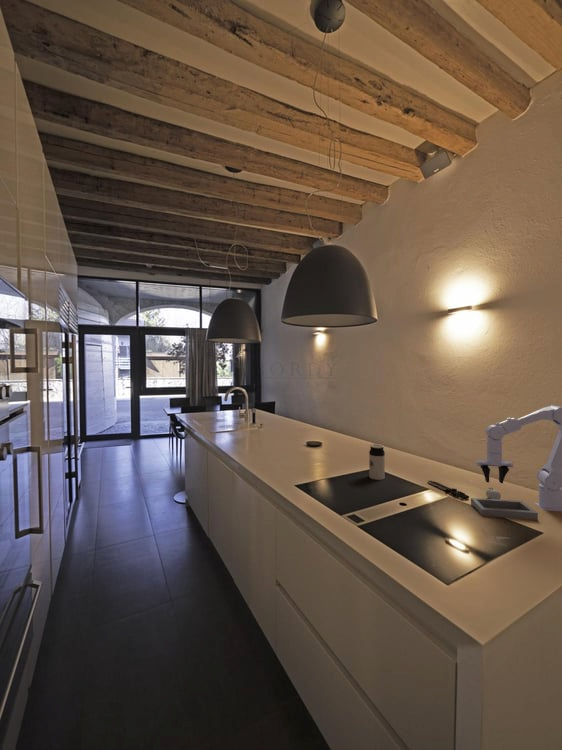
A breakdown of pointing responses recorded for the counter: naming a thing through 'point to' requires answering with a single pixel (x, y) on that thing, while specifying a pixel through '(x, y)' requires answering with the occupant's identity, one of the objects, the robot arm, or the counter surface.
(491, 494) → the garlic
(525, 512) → the tray
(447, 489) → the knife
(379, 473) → the travel mug
